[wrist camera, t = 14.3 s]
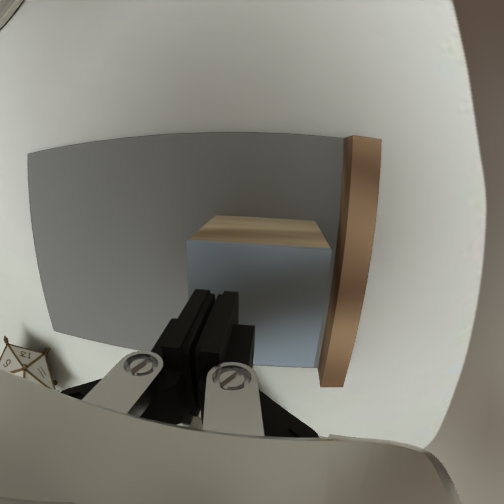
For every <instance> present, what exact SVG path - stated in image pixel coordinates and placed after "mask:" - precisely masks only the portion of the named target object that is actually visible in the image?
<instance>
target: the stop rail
mask: <svg viewBox="0 0 504 504" xmlns="http://www.w3.org/2000/svg"><path fill="white" fill-rule="evenodd" d="M381 141H382V139H376V138H369V137H362V136H354V135H353V136H350V137H346V138H344V153H343V173H342V189H341V202H340V214H339V225H338V235H337V245H336V254H335V262H334V270H333V278H332V285H331V293H330V300H329V306H328V313H327V319H326V325H325V331H324V337H323V343H322V348H321V354H320V359H319V364H318V373H319V380H320V387H343V384H344V381H345V377H346V374H347V370H348V366H349V362H350V358H351V354H352V350H353V346H354V342H355V338H356V333H357V329H358V324H359V320H360V315H361V310H362V305H363V300H364V295H365V289H366V284H367V278H368V272H369V266H370V259H371V252H372V245H373V238H374V230H375V222H376V213H377V203H378V192H379V179H380V163H381Z"/></svg>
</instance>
